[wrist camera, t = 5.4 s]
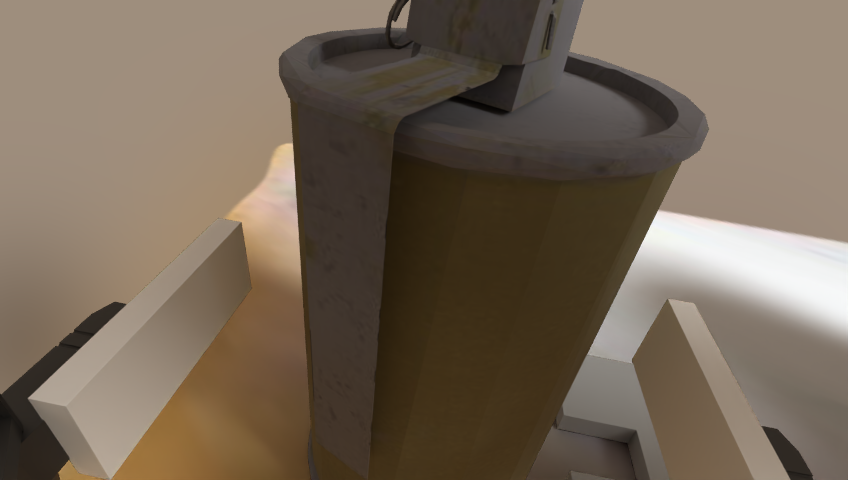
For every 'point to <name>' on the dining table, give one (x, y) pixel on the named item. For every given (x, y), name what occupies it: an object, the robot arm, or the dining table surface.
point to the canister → (464, 228)
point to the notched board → (612, 415)
